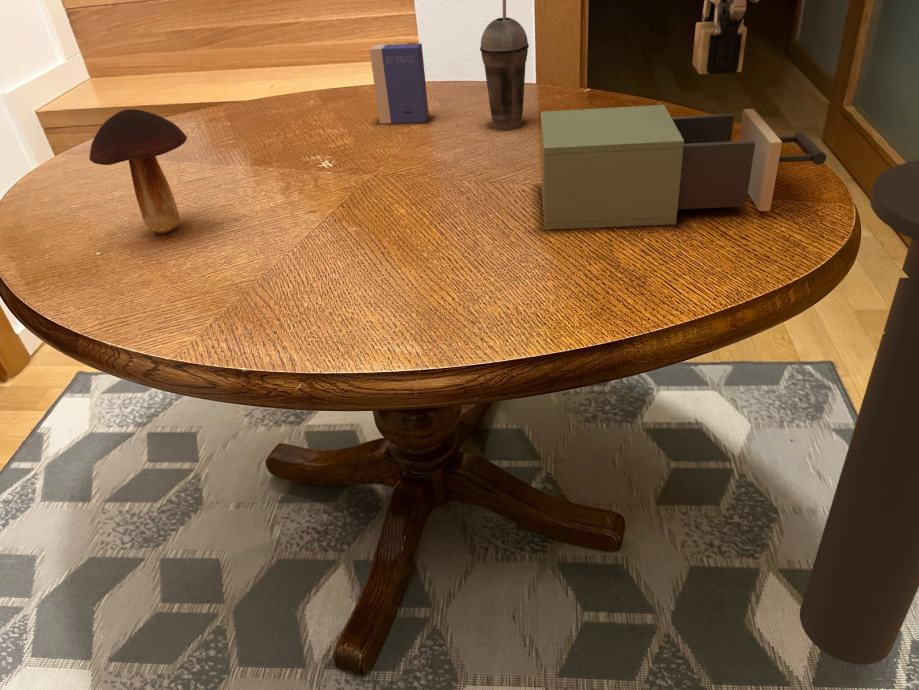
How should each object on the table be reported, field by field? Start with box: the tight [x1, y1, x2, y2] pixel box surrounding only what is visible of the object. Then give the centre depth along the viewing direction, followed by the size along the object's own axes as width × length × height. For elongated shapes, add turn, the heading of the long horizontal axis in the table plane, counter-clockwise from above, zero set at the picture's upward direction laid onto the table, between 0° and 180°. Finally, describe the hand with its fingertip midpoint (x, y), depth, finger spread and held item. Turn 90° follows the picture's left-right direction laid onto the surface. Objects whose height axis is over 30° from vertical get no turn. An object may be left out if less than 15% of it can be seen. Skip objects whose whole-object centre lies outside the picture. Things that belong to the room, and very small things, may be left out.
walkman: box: [369, 41, 430, 124], centre depth 117 cm, size 8×3×12 cm, turn 79°
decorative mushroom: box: [88, 108, 188, 234], centre depth 87 cm, size 11×11×15 cm
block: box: [692, 21, 748, 75], centre depth 81 cm, size 4×4×4 cm
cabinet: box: [540, 104, 684, 231], centre depth 85 cm, size 15×13×10 cm
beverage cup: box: [479, 0, 530, 130], centre depth 109 cm, size 7×7×20 cm
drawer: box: [671, 108, 827, 212], centre depth 83 cm, size 19×11×8 cm, turn 86°
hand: (717, 64), depth 82 cm, fingers closed on block, 4 cm apart
